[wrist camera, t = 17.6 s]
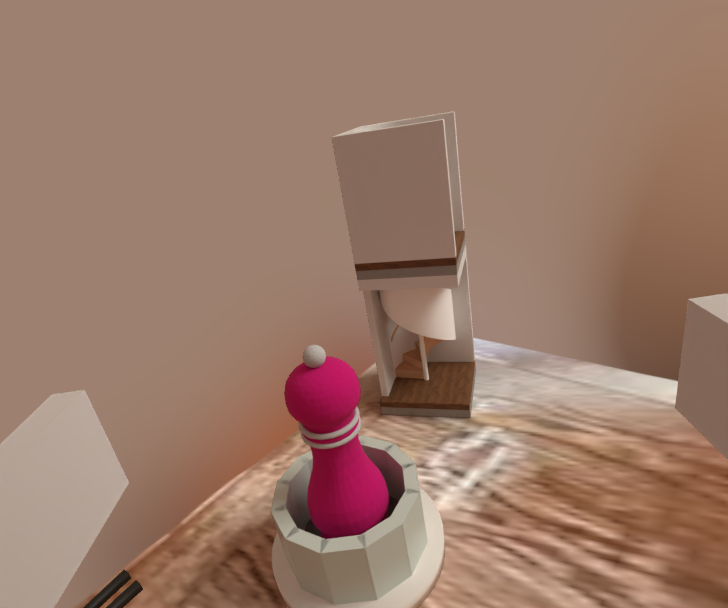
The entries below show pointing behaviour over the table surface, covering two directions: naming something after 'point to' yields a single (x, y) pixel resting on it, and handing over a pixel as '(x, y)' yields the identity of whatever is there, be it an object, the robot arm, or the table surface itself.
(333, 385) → the pepper mill
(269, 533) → the table surface
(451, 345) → the spiral stair tower
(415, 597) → the well
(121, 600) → the ramen bowl
